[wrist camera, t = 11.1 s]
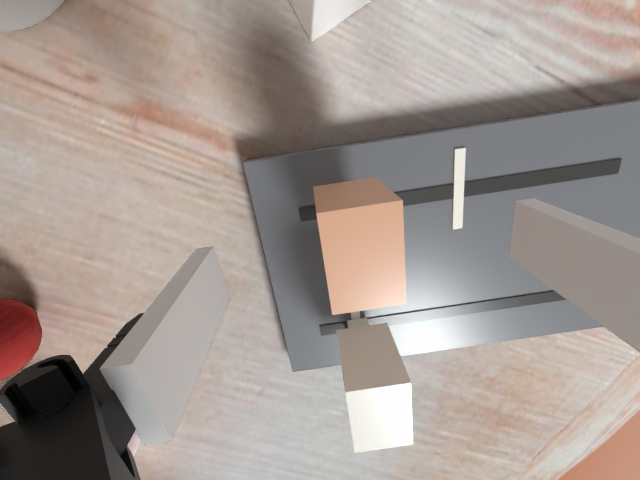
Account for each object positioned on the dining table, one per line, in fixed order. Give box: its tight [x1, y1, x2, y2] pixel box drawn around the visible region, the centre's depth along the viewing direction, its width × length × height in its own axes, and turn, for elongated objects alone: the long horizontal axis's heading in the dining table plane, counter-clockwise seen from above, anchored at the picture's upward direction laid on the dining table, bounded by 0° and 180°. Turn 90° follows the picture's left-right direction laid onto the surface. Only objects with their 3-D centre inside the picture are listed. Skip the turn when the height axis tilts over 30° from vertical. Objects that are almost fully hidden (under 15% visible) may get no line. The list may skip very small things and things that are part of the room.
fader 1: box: [313, 177, 407, 315], centre depth 17 cm, size 5×4×8 cm
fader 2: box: [336, 318, 413, 453], centre depth 20 cm, size 5×4×8 cm
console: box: [243, 99, 640, 372], centre depth 23 cm, size 18×28×2 cm, turn 98°
